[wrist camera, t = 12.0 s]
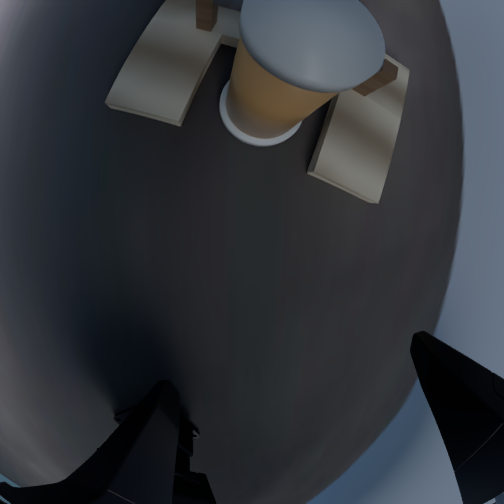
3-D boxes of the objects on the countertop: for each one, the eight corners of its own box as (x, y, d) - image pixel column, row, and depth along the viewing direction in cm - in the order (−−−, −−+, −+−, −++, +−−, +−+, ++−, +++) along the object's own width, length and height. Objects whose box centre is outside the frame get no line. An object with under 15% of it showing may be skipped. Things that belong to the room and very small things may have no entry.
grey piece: (368, 202, 22) (414, 206, 16) (110, 108, 17) (80, 80, 11) (400, 75, 20) (439, 55, 14) (185, -14, 15) (184, -56, 10)
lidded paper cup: (279, 161, 20) (365, 121, 8) (204, 124, 19) (203, 37, 7) (311, 97, 19) (400, 25, 8) (242, 61, 18) (278, -43, 6)
